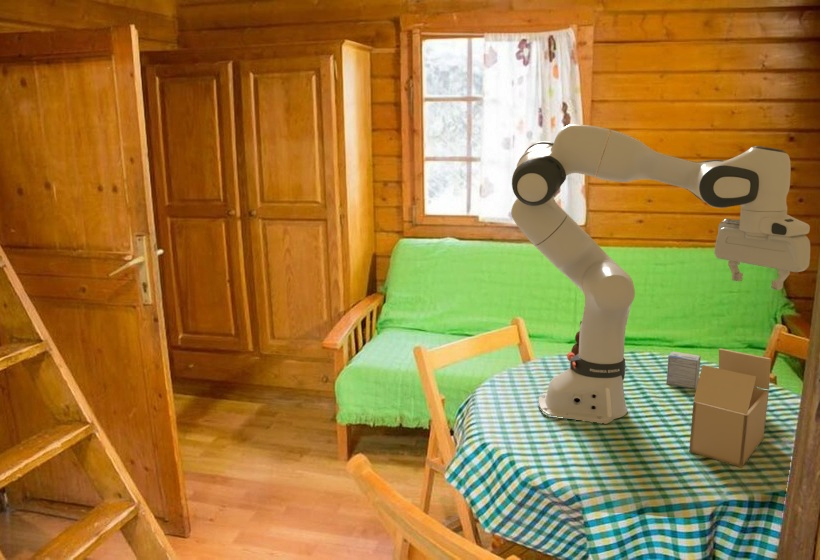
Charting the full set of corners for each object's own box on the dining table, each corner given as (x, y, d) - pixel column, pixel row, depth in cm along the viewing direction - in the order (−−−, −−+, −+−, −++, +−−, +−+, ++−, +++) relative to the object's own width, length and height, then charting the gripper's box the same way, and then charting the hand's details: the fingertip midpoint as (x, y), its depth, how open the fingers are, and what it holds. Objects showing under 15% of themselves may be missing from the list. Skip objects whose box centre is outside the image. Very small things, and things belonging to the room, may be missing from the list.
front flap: (694, 400, 143) (693, 400, 143) (703, 365, 144) (702, 364, 144) (747, 414, 136) (746, 413, 136) (756, 376, 137) (755, 376, 137)
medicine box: (698, 384, 183) (701, 355, 181) (696, 389, 179) (698, 360, 177) (669, 379, 187) (671, 350, 185) (665, 384, 183) (668, 355, 181)
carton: (689, 451, 146) (693, 402, 143) (713, 425, 158) (718, 379, 155) (741, 467, 139) (747, 415, 136) (763, 438, 151) (769, 390, 148)
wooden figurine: (579, 371, 194) (581, 323, 190) (567, 365, 199) (569, 318, 196) (597, 368, 197) (599, 320, 193) (585, 362, 202) (587, 315, 198)
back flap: (718, 349, 152) (719, 348, 152) (718, 378, 155) (719, 377, 155) (769, 359, 145) (770, 358, 145) (768, 389, 148) (769, 388, 148)
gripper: (710, 218, 148) (706, 277, 151) (799, 229, 130) (792, 296, 133) (728, 216, 151) (724, 274, 154) (818, 226, 133) (810, 292, 136)
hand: (756, 284), depth 144 cm, fingers open, 8 cm apart
